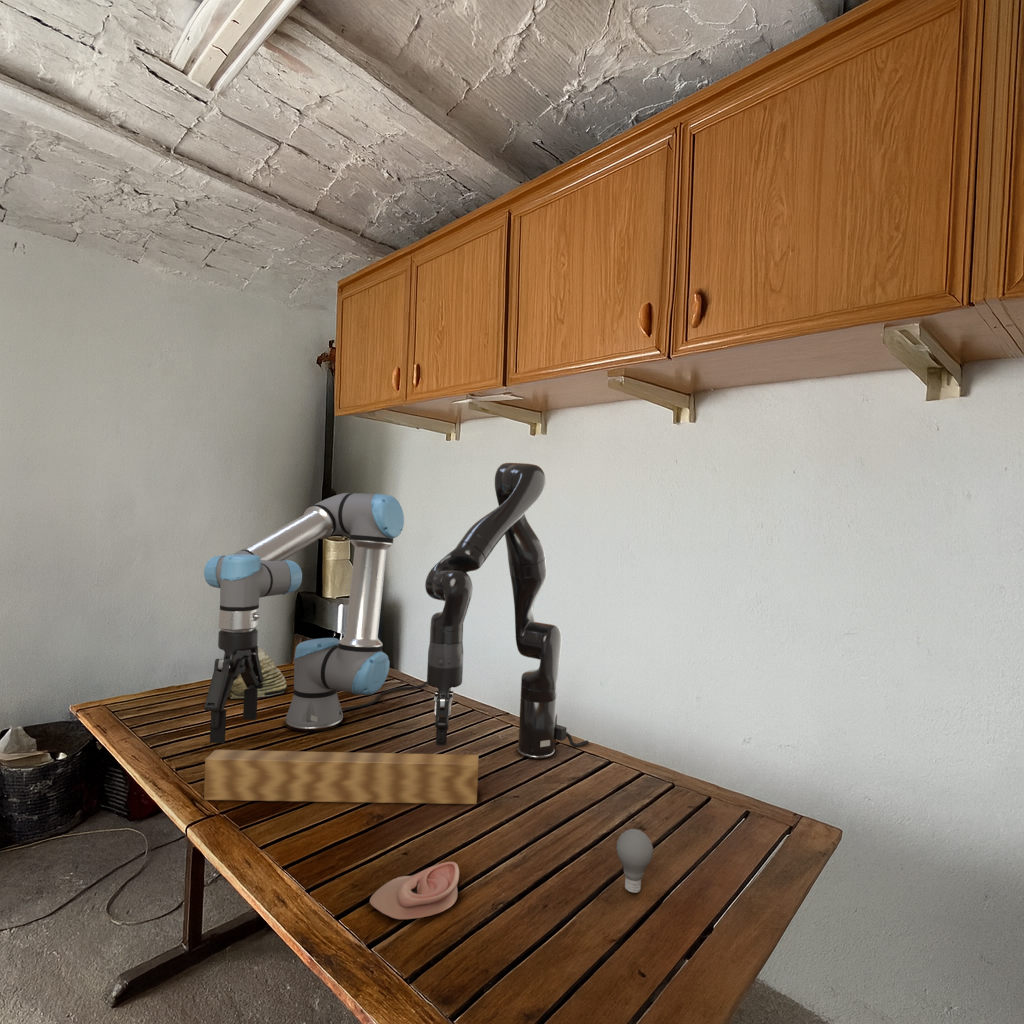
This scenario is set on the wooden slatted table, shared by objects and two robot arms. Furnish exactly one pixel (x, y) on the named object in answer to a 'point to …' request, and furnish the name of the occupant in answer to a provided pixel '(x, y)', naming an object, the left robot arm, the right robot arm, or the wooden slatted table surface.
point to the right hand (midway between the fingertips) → (442, 737)
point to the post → (341, 777)
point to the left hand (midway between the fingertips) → (234, 730)
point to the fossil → (271, 679)
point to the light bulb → (634, 857)
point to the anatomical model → (419, 893)
